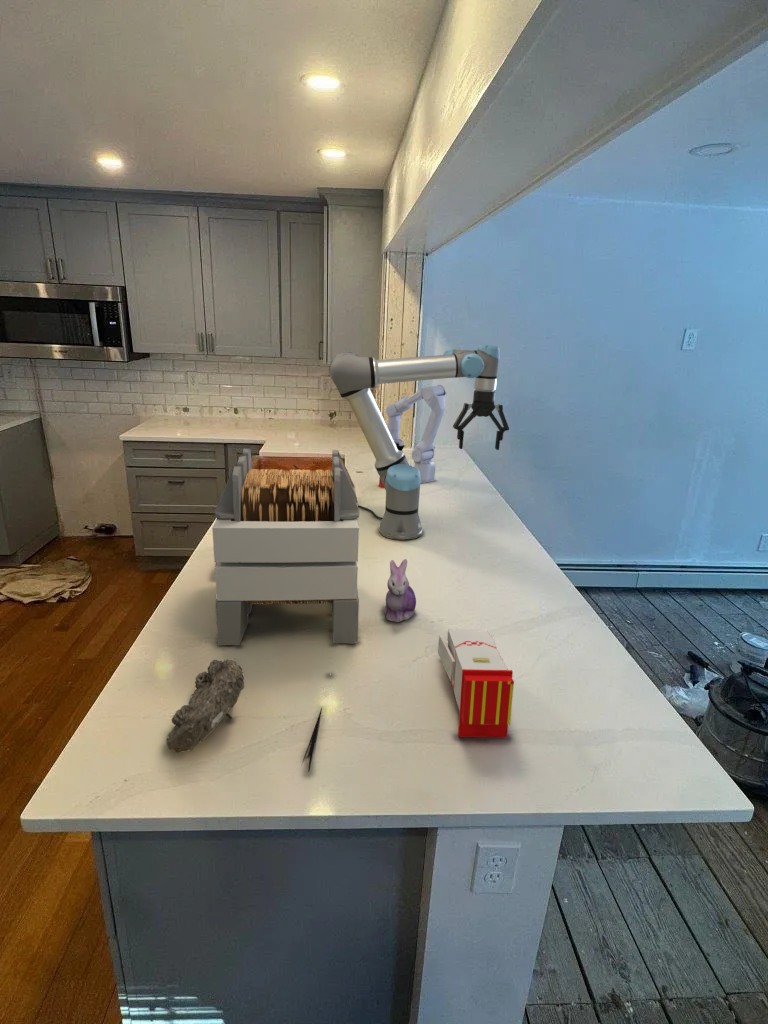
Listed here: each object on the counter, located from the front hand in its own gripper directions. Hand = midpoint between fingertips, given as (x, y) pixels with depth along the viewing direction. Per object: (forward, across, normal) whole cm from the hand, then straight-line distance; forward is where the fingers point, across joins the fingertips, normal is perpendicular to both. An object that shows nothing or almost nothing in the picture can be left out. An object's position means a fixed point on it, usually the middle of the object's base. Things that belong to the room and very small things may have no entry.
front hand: (478, 448), depth 208 cm
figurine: (+28, +36, +72) cm, 85 cm away
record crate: (+28, +64, +69) cm, 98 cm away
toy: (+28, +24, +103) cm, 110 cm away
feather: (+28, +55, +111) cm, 127 cm away
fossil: (+28, +76, +110) cm, 136 cm away
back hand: (+20, +25, -65) cm, 72 cm away
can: (+28, +30, -40) cm, 57 cm away
